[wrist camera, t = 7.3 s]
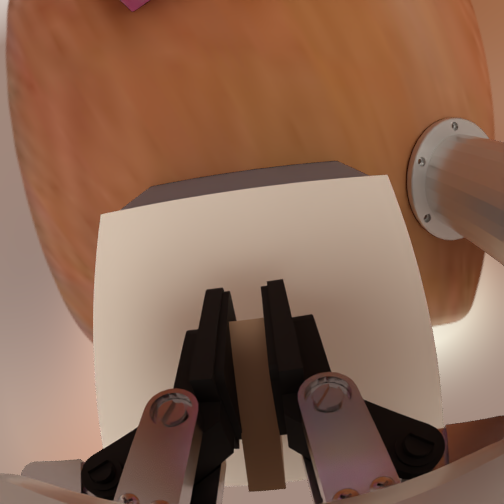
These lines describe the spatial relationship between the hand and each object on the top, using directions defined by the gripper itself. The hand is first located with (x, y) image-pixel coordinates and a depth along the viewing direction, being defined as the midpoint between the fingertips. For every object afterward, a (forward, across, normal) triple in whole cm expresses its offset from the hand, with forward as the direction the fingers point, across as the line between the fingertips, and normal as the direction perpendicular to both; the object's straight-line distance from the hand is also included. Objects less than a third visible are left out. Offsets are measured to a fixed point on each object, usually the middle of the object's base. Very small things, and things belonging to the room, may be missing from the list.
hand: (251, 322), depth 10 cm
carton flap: (+3, 0, +3) cm, 4 cm away
